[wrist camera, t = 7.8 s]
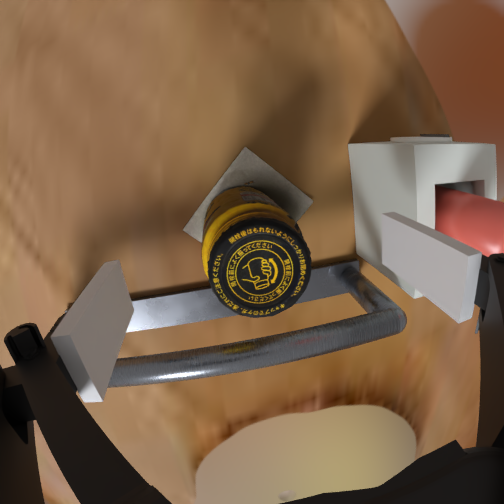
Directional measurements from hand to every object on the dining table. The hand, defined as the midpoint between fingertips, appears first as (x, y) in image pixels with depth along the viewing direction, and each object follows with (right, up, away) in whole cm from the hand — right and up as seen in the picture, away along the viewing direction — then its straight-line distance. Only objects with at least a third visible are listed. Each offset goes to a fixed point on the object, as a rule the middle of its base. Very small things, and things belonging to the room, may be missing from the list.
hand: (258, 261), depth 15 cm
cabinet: (+13, +6, +13) cm, 19 cm away
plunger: (+13, +4, +7) cm, 16 cm away
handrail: (-4, -4, +14) cm, 15 cm away
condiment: (-1, +4, +12) cm, 12 cm away
